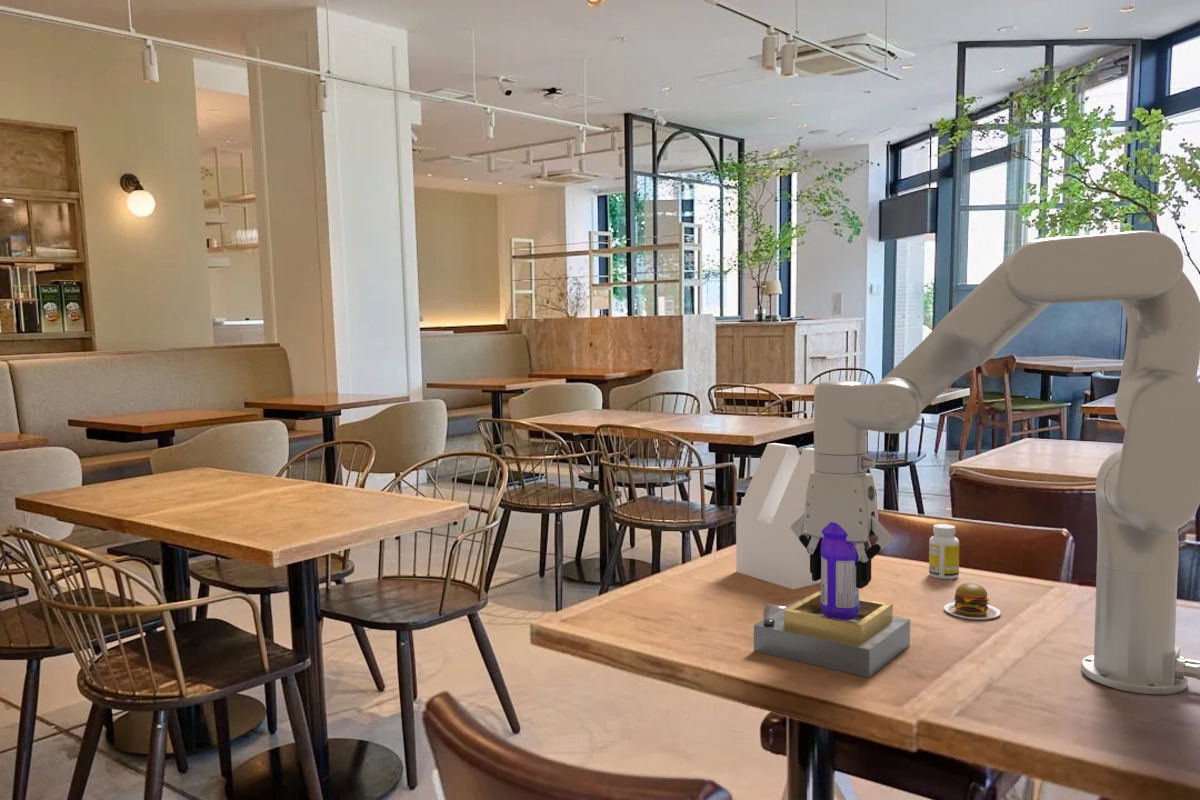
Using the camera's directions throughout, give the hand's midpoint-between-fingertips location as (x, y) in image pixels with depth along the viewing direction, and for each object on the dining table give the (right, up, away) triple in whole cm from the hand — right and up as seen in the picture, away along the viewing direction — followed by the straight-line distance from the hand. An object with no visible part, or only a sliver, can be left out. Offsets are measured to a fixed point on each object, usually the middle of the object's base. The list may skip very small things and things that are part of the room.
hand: (840, 581), depth 138 cm
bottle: (0, -5, 0) cm, 5 cm away
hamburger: (+27, -9, +17) cm, 33 cm away
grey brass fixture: (-2, -10, +3) cm, 11 cm away
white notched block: (+3, -7, +44) cm, 45 cm away
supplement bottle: (+30, -7, +39) cm, 50 cm away
